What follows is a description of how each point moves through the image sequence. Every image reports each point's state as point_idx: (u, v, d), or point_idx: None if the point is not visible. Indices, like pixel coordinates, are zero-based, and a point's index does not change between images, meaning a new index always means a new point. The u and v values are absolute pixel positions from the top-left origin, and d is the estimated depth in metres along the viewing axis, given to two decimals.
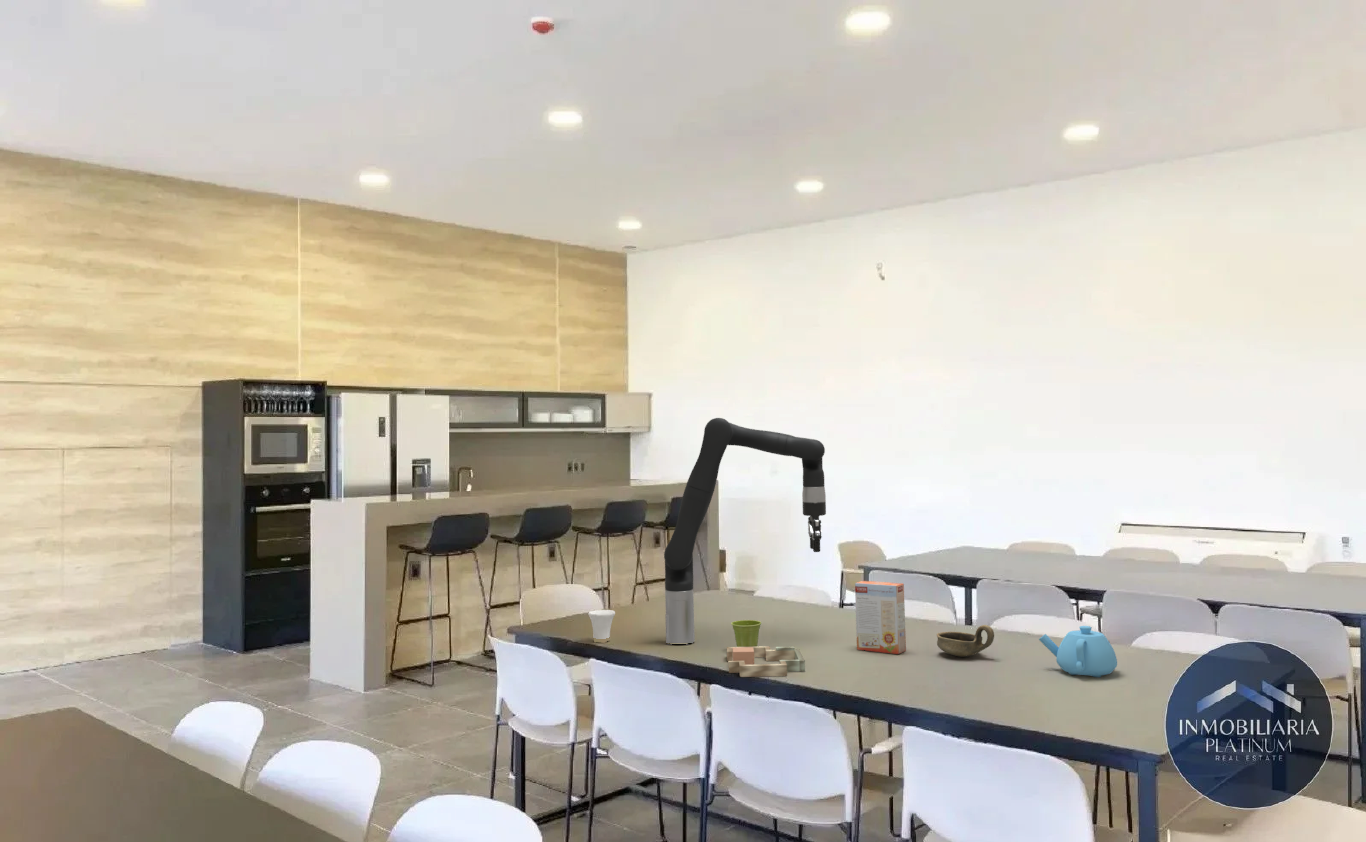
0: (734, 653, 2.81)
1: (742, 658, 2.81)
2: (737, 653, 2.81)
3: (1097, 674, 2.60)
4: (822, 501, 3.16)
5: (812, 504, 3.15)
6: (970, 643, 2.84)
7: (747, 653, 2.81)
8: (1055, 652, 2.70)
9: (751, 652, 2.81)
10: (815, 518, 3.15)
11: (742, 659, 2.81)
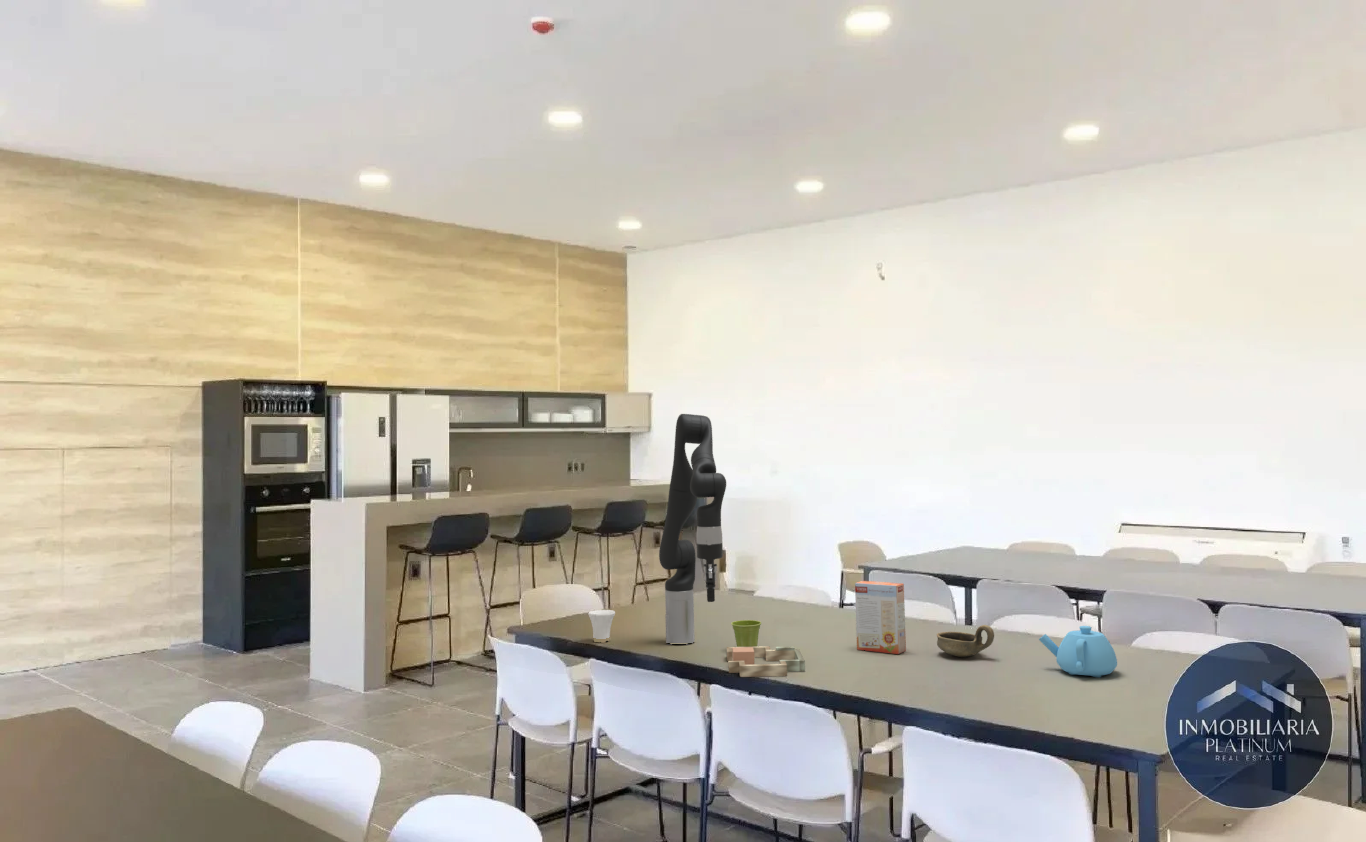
0: (734, 653, 2.81)
1: (742, 659, 2.81)
2: (737, 653, 2.81)
3: (1097, 674, 2.60)
4: (717, 543, 2.82)
5: (706, 546, 2.81)
6: (970, 643, 2.84)
7: (747, 653, 2.81)
8: (1055, 652, 2.70)
9: (751, 652, 2.81)
10: (709, 562, 2.81)
11: (742, 659, 2.81)
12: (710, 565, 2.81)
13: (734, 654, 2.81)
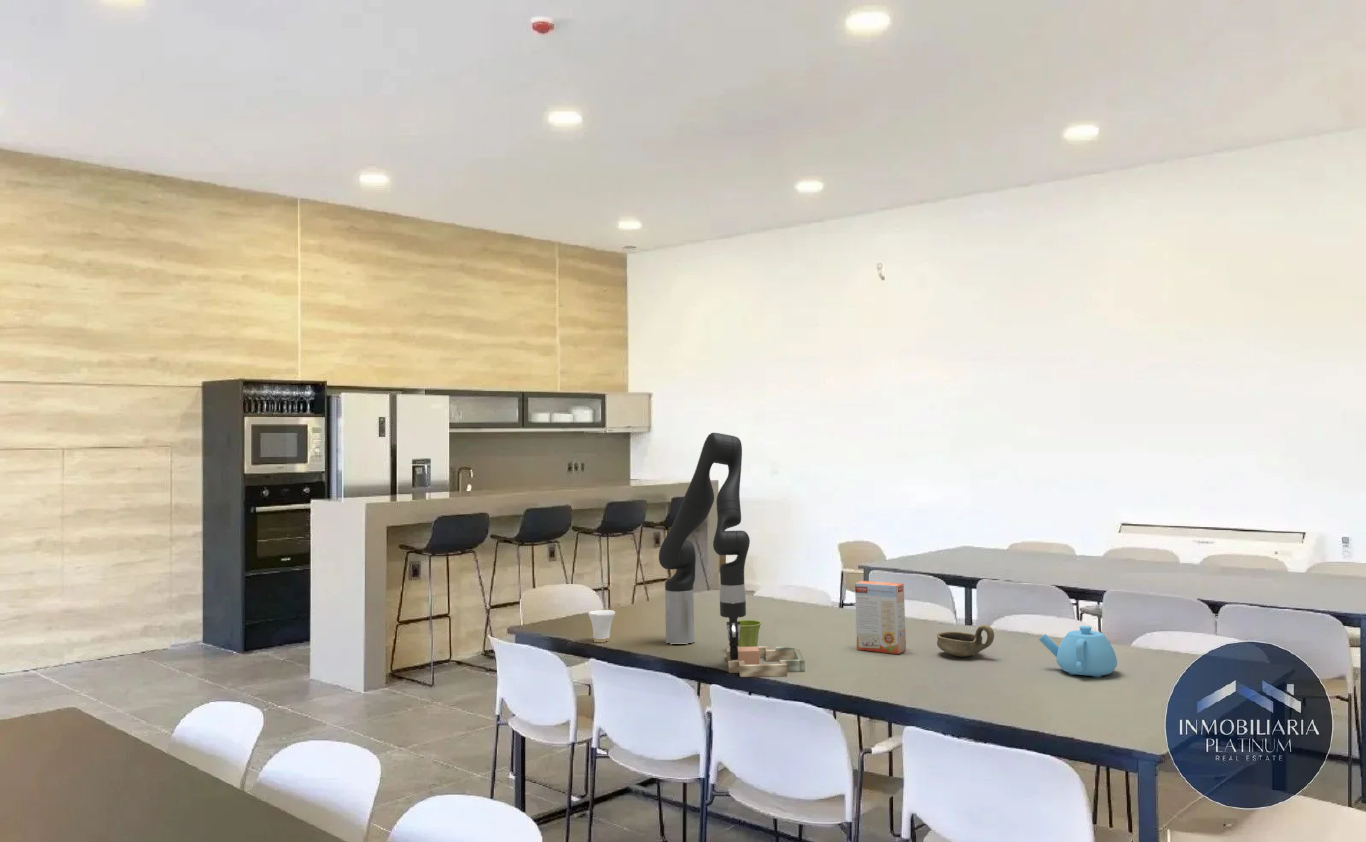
0: (739, 652, 2.81)
1: (747, 658, 2.81)
2: (742, 652, 2.81)
3: (1097, 674, 2.60)
4: (741, 601, 2.81)
5: (729, 605, 2.80)
6: (970, 643, 2.84)
7: (752, 652, 2.81)
8: (1055, 652, 2.70)
9: (756, 651, 2.81)
10: (733, 621, 2.80)
11: (747, 658, 2.81)
12: (733, 624, 2.80)
13: (739, 653, 2.81)
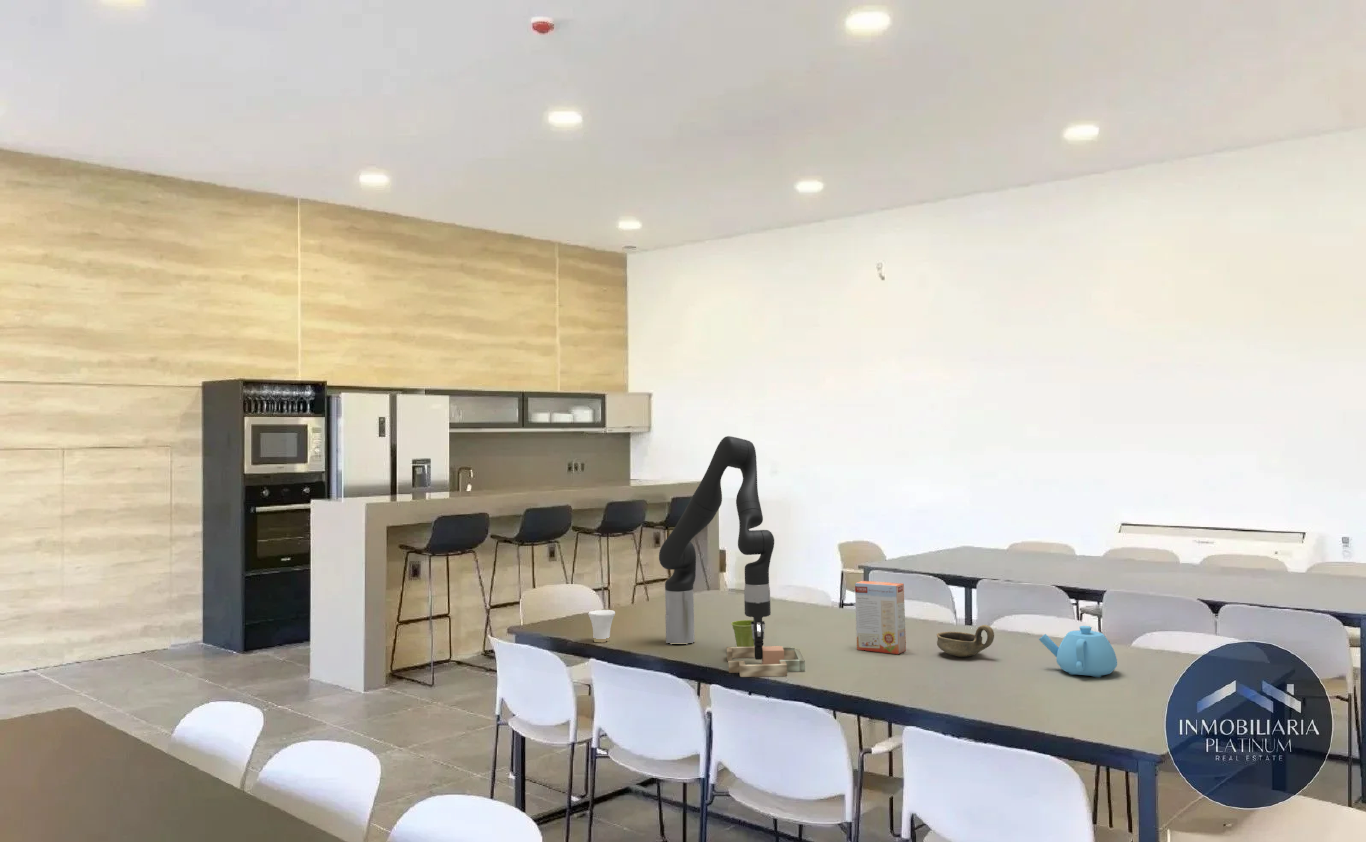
0: (764, 652, 2.81)
1: (772, 657, 2.81)
2: (767, 652, 2.81)
3: (1097, 674, 2.60)
4: (766, 601, 2.81)
5: (754, 604, 2.80)
6: (970, 643, 2.84)
7: (777, 652, 2.81)
8: (1055, 652, 2.70)
9: (781, 651, 2.81)
10: (758, 620, 2.80)
11: (772, 658, 2.81)
12: (758, 623, 2.80)
13: (764, 653, 2.81)
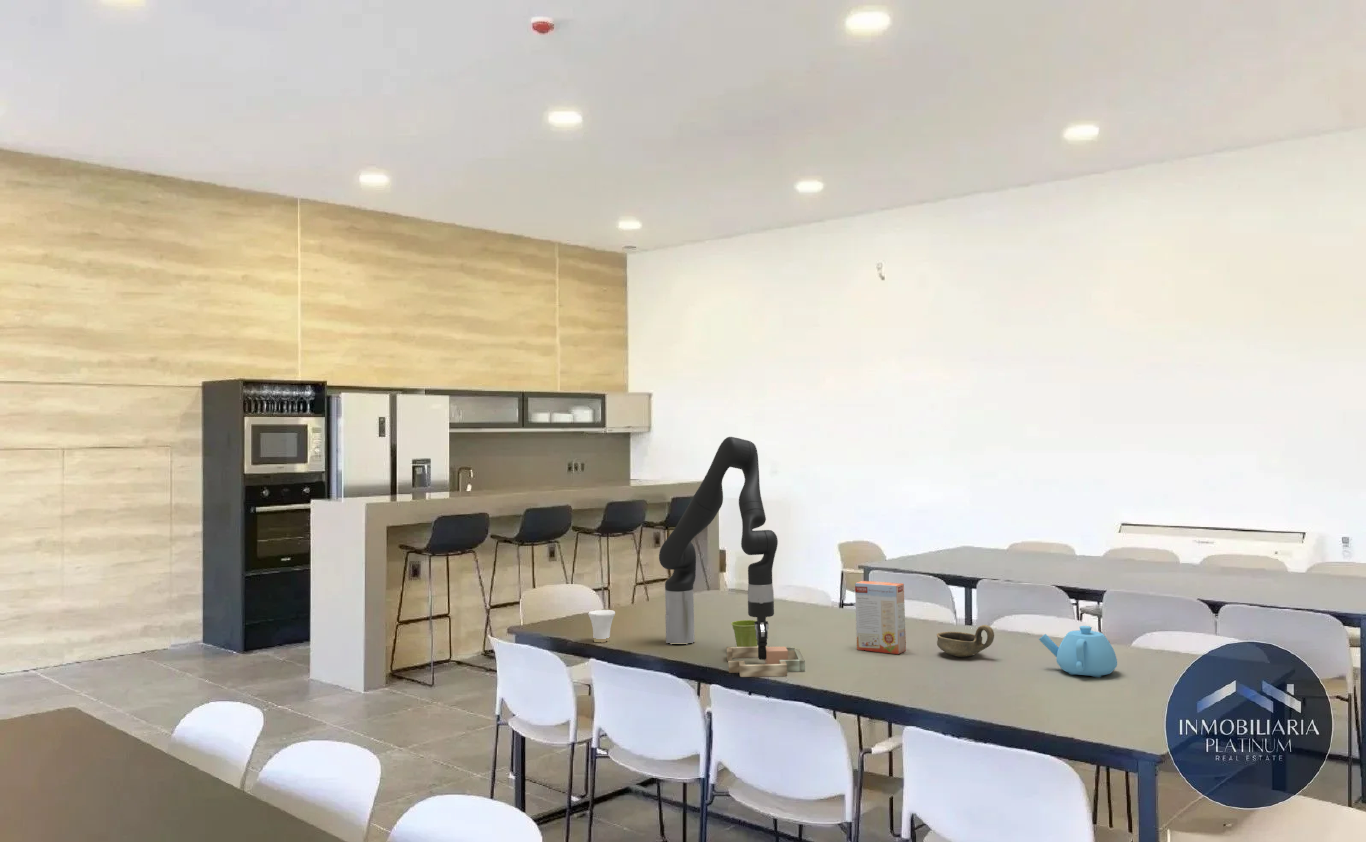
0: (768, 652, 2.81)
1: (776, 658, 2.81)
2: (771, 652, 2.81)
3: (1097, 674, 2.60)
4: (769, 601, 2.81)
5: (758, 604, 2.80)
6: (970, 643, 2.84)
7: (781, 652, 2.81)
8: (1055, 652, 2.70)
9: (785, 651, 2.81)
10: (761, 620, 2.80)
11: (776, 658, 2.81)
12: (762, 623, 2.80)
13: (768, 653, 2.81)
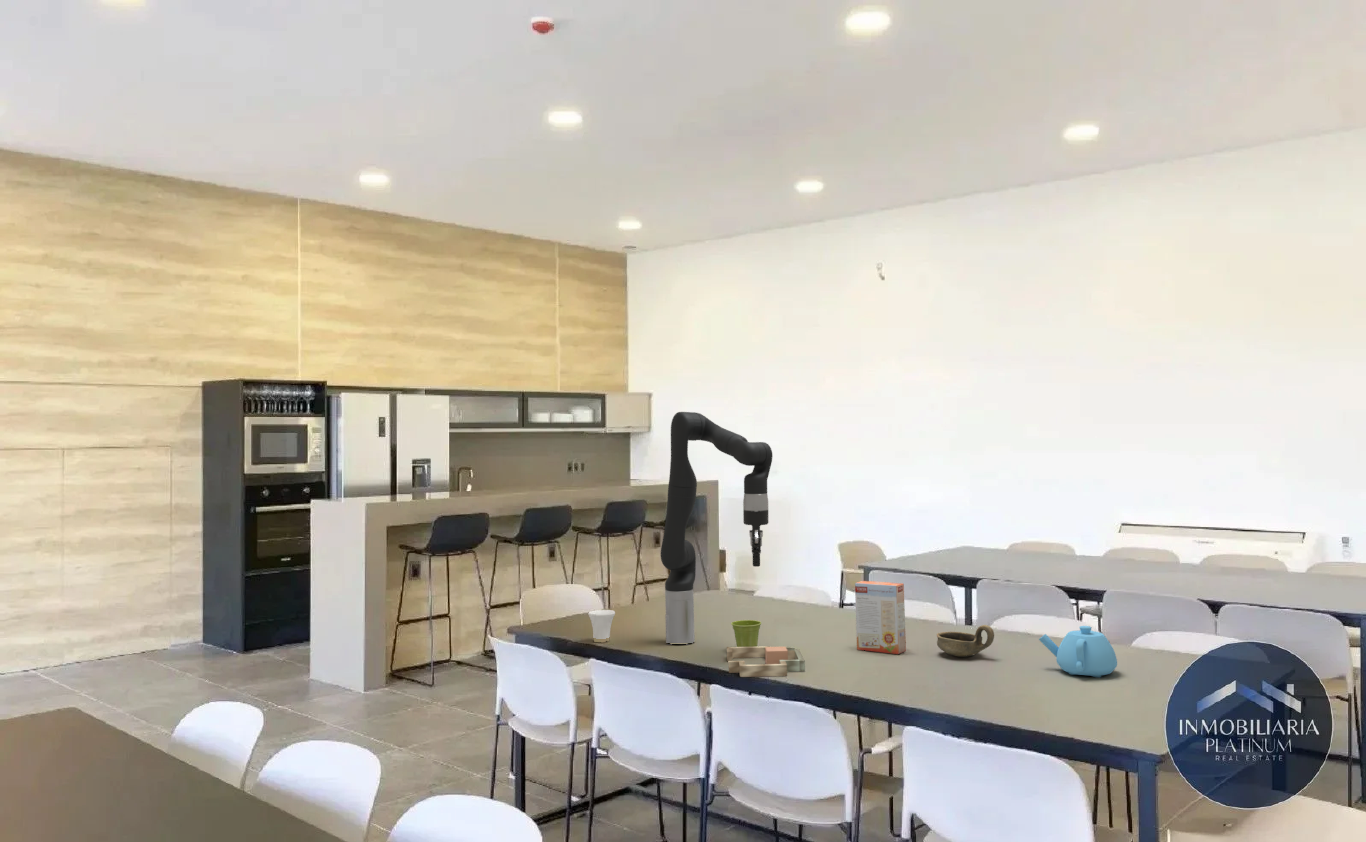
0: (768, 652, 2.81)
1: (776, 658, 2.81)
2: (771, 652, 2.81)
3: (1097, 674, 2.60)
4: (764, 509, 2.91)
5: (752, 512, 2.91)
6: (970, 643, 2.84)
7: (781, 652, 2.81)
8: (1055, 652, 2.70)
9: (785, 651, 2.81)
10: (755, 528, 2.90)
11: (776, 658, 2.81)
12: (756, 531, 2.90)
13: (767, 653, 2.81)
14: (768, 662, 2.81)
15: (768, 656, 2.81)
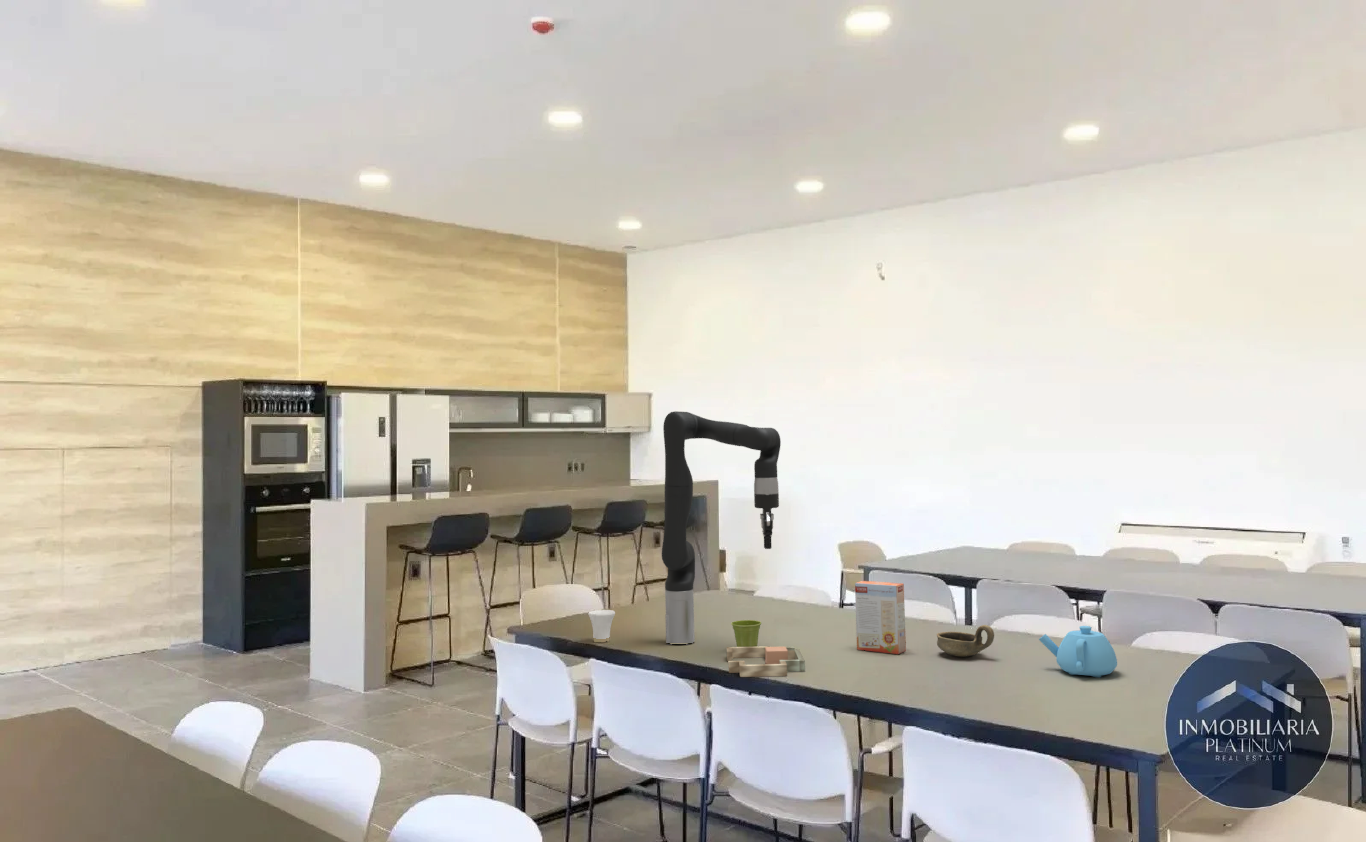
0: (768, 652, 2.81)
1: (776, 658, 2.81)
2: (771, 652, 2.81)
3: (1097, 674, 2.60)
4: (774, 493, 2.99)
5: (764, 496, 2.98)
6: (970, 643, 2.84)
7: (781, 652, 2.81)
8: (1055, 652, 2.70)
9: (785, 651, 2.81)
10: (767, 511, 2.98)
11: (776, 658, 2.81)
12: (768, 514, 2.98)
13: (767, 653, 2.81)
14: (768, 662, 2.81)
15: (768, 656, 2.81)
